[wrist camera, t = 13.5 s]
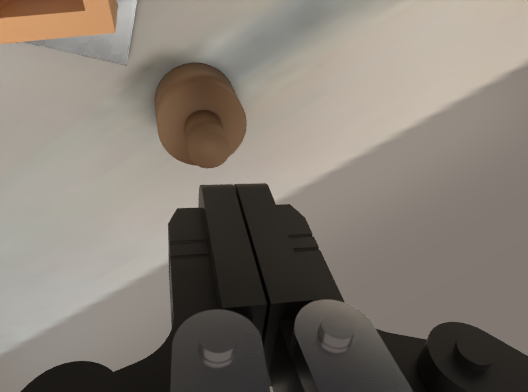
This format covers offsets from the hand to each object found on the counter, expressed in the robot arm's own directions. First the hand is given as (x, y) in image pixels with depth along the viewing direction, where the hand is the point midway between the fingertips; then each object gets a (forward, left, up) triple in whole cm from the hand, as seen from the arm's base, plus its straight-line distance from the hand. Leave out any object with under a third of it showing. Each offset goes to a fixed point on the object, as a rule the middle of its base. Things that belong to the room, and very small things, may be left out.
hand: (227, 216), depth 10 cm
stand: (-3, +6, -22) cm, 22 cm away
